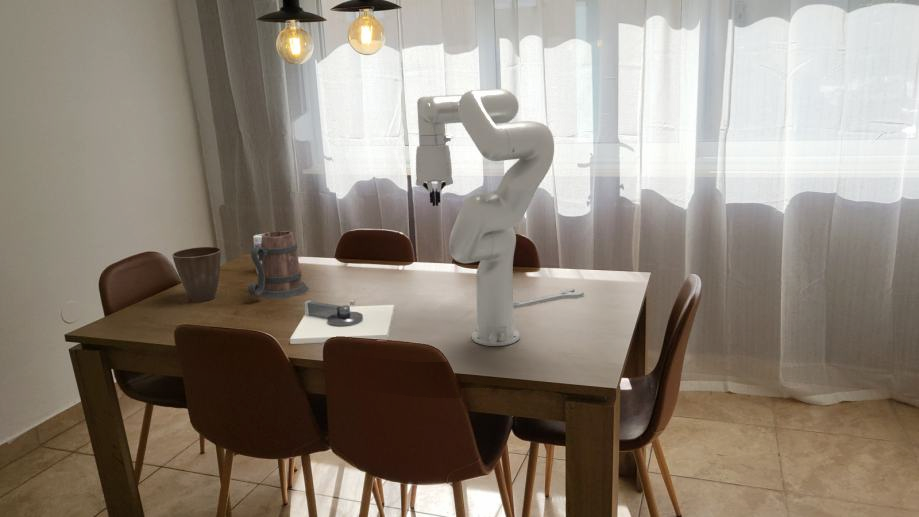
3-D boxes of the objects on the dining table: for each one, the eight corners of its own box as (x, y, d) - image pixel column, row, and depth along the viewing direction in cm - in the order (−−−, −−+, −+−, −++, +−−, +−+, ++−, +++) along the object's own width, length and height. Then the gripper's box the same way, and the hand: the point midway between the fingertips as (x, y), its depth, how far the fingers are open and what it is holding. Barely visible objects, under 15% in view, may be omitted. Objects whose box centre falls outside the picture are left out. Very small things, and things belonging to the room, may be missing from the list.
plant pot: (170, 300, 232) (164, 253, 228) (212, 289, 243) (206, 244, 239) (192, 308, 222) (185, 259, 218) (235, 297, 233) (229, 250, 229)
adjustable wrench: (513, 310, 210) (513, 304, 210) (504, 304, 216) (504, 299, 215) (586, 297, 219) (586, 292, 218) (575, 292, 224) (575, 287, 224)
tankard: (280, 282, 248) (274, 227, 243) (318, 286, 241) (313, 229, 236) (232, 301, 228) (225, 241, 223) (273, 307, 221) (266, 245, 216)
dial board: (387, 340, 188) (386, 331, 188) (290, 344, 188) (289, 335, 187) (395, 304, 218) (395, 297, 217) (311, 308, 218) (311, 300, 217)
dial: (370, 317, 202) (369, 304, 201) (348, 328, 194) (346, 314, 193) (319, 308, 212) (318, 296, 211) (296, 319, 203) (294, 305, 202)
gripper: (458, 139, 202) (461, 202, 206) (406, 141, 202) (410, 204, 206) (459, 141, 195) (461, 206, 199) (405, 143, 195) (408, 208, 199)
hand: (435, 205), depth 203 cm, fingers closed
